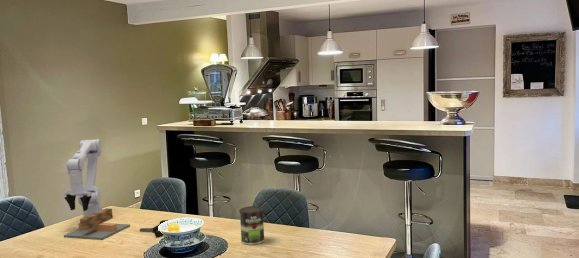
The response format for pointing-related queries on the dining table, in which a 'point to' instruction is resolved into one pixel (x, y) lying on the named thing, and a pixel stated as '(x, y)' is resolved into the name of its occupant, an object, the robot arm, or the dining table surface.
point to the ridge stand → (97, 231)
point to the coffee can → (252, 225)
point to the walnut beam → (96, 219)
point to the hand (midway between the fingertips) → (79, 210)
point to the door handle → (153, 229)
